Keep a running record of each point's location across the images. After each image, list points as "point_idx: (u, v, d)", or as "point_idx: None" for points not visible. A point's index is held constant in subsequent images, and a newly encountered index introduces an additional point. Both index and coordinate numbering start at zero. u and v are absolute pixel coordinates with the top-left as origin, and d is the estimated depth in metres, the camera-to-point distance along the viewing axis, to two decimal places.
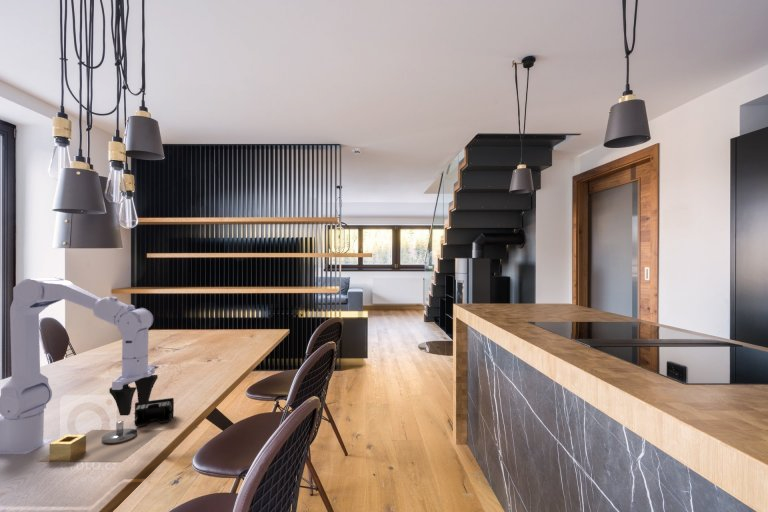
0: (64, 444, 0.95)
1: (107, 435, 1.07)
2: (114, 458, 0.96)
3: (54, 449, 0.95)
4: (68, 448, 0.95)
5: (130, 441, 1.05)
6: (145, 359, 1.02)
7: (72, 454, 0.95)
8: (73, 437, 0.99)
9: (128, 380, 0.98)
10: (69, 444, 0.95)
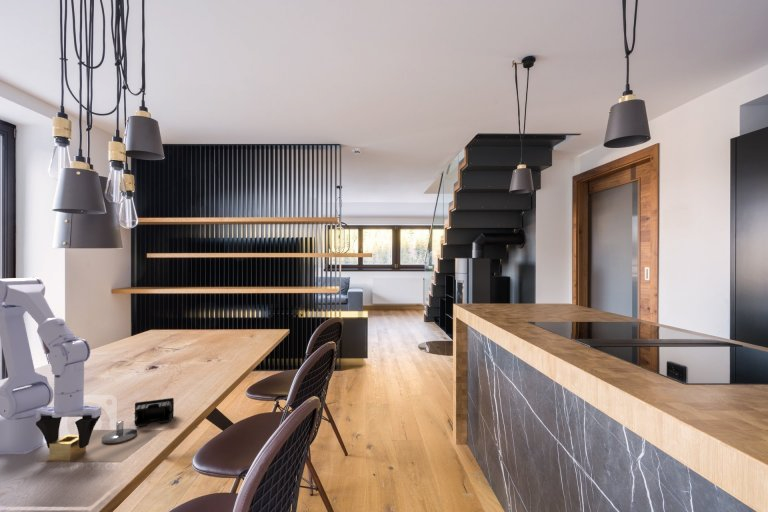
0: (64, 444, 0.95)
1: (107, 435, 1.07)
2: (114, 458, 0.96)
3: (54, 449, 0.95)
4: (68, 448, 0.95)
5: (130, 441, 1.05)
6: (58, 397, 0.95)
7: (72, 454, 0.95)
8: (73, 437, 0.99)
9: (43, 412, 0.96)
10: (69, 444, 0.95)
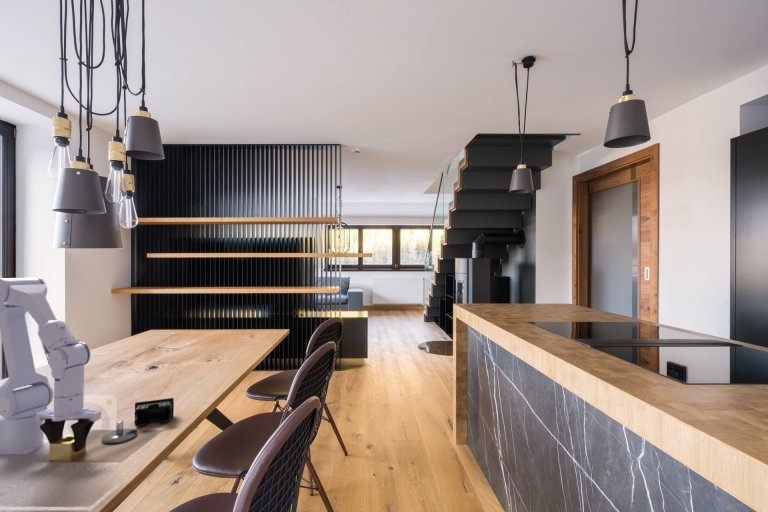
0: (64, 444, 0.95)
1: (107, 435, 1.07)
2: (114, 458, 0.96)
3: (54, 449, 0.95)
4: (68, 448, 0.95)
5: (130, 441, 1.05)
6: (58, 401, 0.94)
7: (72, 454, 0.95)
8: (73, 437, 0.99)
9: (43, 415, 0.96)
10: (69, 444, 0.95)
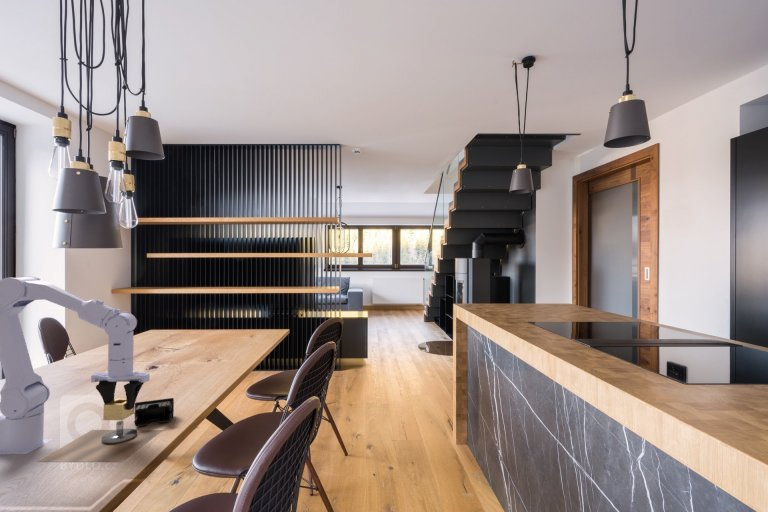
0: (117, 405, 1.05)
1: (107, 435, 1.07)
2: (114, 458, 0.96)
3: (107, 409, 1.04)
4: (120, 409, 1.04)
5: (130, 441, 1.05)
6: (112, 363, 1.05)
7: (123, 414, 1.05)
8: (123, 400, 1.08)
9: (98, 377, 1.06)
10: (121, 405, 1.05)
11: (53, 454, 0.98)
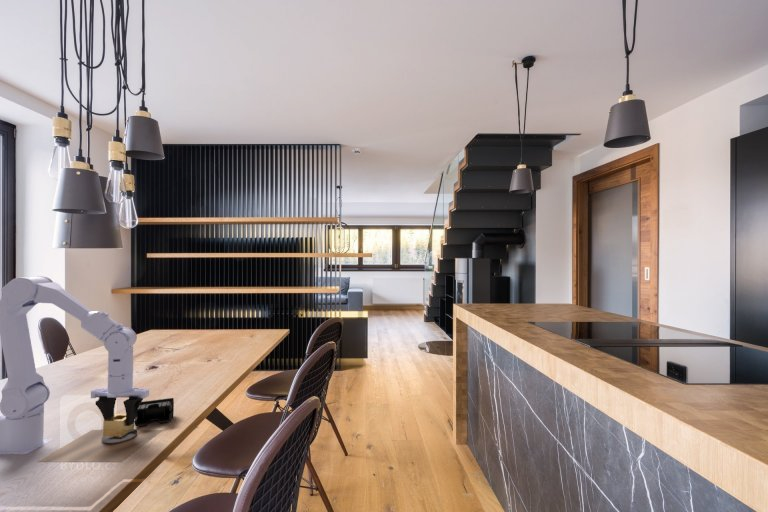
0: (116, 421, 1.05)
1: None
2: (114, 458, 0.96)
3: (107, 426, 1.04)
4: (120, 425, 1.04)
5: (130, 441, 1.05)
6: (112, 379, 1.05)
7: (123, 430, 1.05)
8: (123, 416, 1.08)
9: (98, 393, 1.06)
10: (121, 421, 1.05)
11: (53, 454, 0.98)
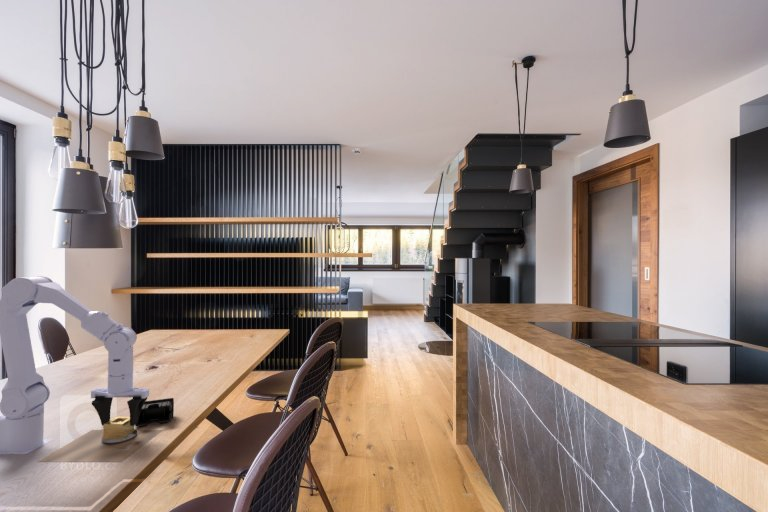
0: (117, 424, 1.04)
1: None
2: (114, 458, 0.96)
3: (107, 429, 1.04)
4: (120, 428, 1.04)
5: (130, 441, 1.05)
6: (112, 379, 1.05)
7: (124, 433, 1.05)
8: (123, 418, 1.08)
9: (98, 393, 1.06)
10: (121, 424, 1.04)
11: (53, 454, 0.98)
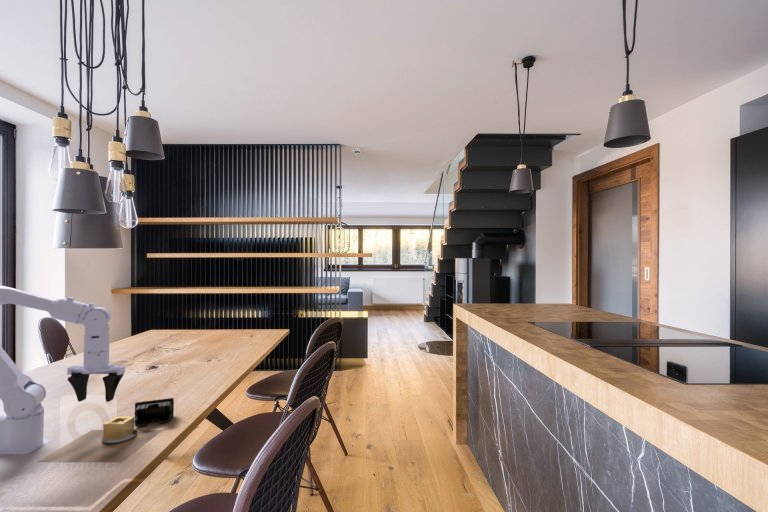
0: (117, 424, 1.04)
1: None
2: (114, 458, 0.96)
3: (107, 429, 1.04)
4: (120, 428, 1.04)
5: (130, 441, 1.05)
6: (87, 355, 1.07)
7: (124, 433, 1.05)
8: (123, 418, 1.08)
9: (74, 369, 1.08)
10: (121, 424, 1.04)
11: (53, 454, 0.98)
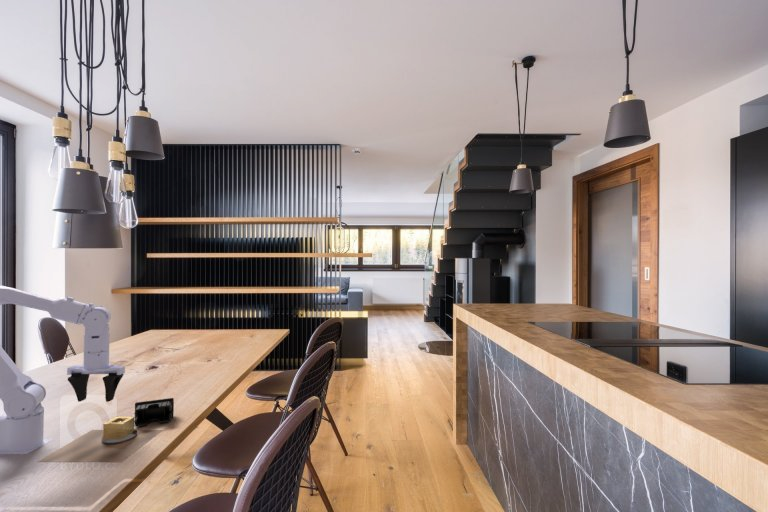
0: (117, 424, 1.04)
1: None
2: (114, 458, 0.96)
3: (107, 429, 1.04)
4: (120, 428, 1.04)
5: (130, 441, 1.05)
6: (87, 355, 1.07)
7: (124, 433, 1.05)
8: (123, 418, 1.08)
9: (74, 369, 1.08)
10: (121, 424, 1.04)
11: (53, 454, 0.98)
